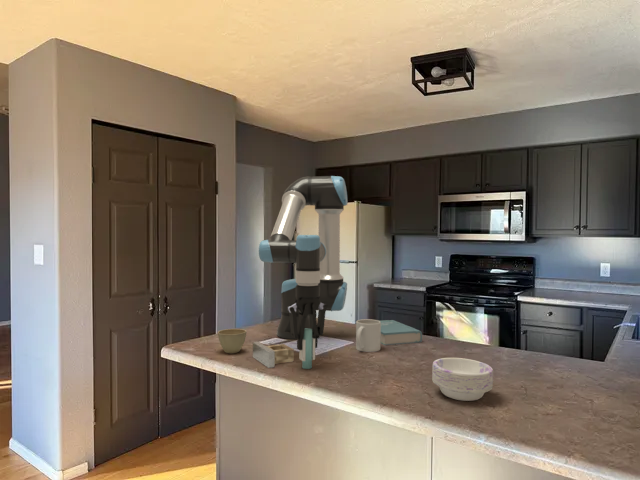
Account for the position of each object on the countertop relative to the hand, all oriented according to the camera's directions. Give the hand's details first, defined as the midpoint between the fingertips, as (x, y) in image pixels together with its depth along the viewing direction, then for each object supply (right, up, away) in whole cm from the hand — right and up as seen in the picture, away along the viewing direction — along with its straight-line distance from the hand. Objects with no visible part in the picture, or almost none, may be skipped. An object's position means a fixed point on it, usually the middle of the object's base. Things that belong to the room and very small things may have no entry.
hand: (307, 359), depth 142 cm
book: (+32, -3, +42) cm, 53 cm away
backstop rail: (-14, -2, +6) cm, 16 cm away
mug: (+21, -3, +23) cm, 31 cm away
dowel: (0, -3, 0) cm, 3 cm away
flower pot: (-27, -2, +18) cm, 33 cm away
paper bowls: (+41, -4, -23) cm, 47 cm away
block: (-10, -2, +8) cm, 13 cm away
